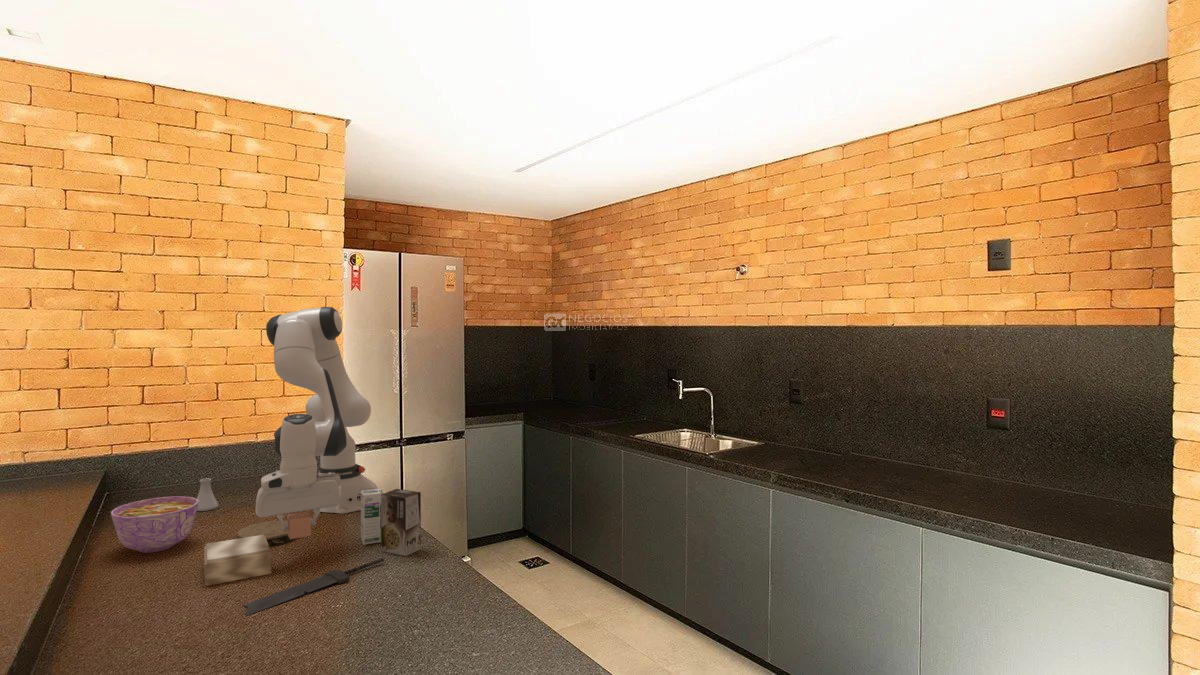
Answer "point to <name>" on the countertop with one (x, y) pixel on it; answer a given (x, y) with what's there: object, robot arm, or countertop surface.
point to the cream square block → (236, 559)
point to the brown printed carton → (401, 522)
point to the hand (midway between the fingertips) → (299, 527)
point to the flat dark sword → (303, 588)
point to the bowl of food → (154, 522)
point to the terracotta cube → (299, 525)
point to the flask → (206, 496)
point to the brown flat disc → (266, 532)
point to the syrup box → (371, 516)
